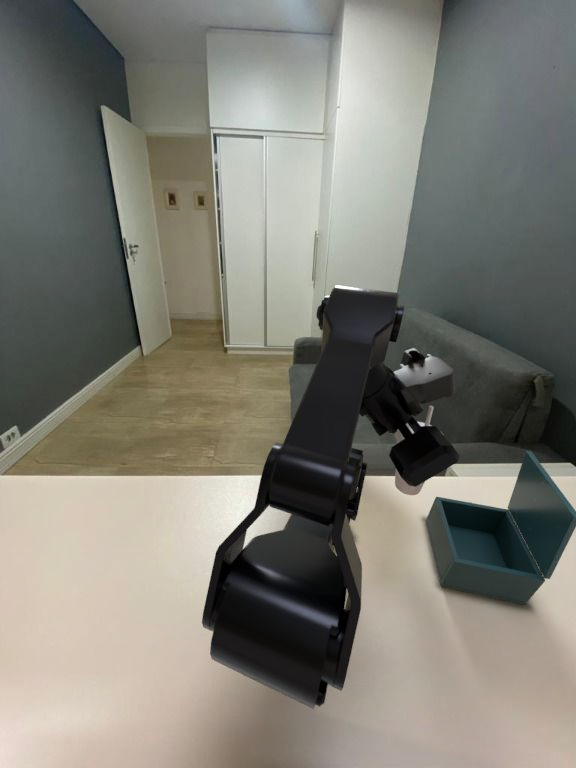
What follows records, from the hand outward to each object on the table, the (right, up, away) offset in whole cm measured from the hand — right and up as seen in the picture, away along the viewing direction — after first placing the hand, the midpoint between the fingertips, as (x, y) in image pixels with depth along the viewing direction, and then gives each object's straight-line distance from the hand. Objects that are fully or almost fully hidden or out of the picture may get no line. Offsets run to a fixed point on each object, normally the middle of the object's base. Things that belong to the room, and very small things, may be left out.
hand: (424, 452), depth 44 cm
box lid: (+11, -6, -6) cm, 14 cm away
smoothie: (-1, -6, +3) cm, 7 cm away
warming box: (+7, -15, +1) cm, 17 cm away
